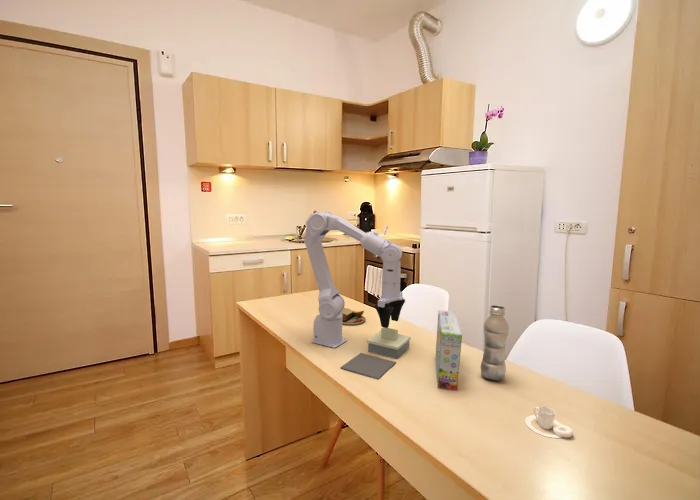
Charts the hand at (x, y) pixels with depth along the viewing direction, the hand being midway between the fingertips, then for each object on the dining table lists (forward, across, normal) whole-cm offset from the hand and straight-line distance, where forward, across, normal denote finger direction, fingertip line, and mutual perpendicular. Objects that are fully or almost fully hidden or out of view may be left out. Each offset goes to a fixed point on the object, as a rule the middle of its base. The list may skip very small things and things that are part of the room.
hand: (389, 323), depth 115 cm
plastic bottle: (+9, -2, -32) cm, 33 cm away
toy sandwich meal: (+9, +18, +26) cm, 33 cm away
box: (+9, 0, 0) cm, 9 cm away
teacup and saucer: (+10, -22, -46) cm, 52 cm away
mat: (+9, -14, 0) cm, 16 cm away
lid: (+6, 0, 0) cm, 6 cm away
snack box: (+9, -5, -20) cm, 22 cm away
